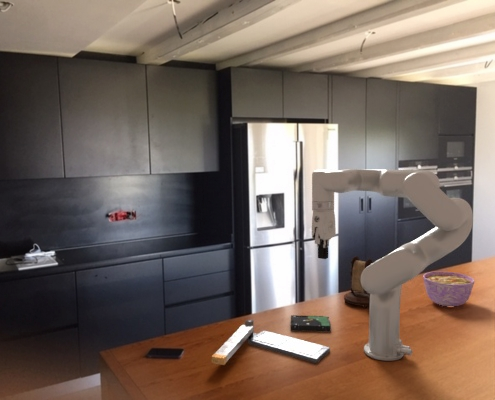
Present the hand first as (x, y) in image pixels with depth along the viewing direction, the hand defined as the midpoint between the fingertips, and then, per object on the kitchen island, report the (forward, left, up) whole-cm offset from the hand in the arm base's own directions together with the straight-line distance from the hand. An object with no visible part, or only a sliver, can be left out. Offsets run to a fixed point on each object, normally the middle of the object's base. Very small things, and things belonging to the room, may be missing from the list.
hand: (322, 258), depth 163 cm
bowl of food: (-29, -60, -29) cm, 73 cm away
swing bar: (+19, +27, -28) cm, 43 cm away
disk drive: (+9, -7, -30) cm, 32 cm away
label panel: (+9, +14, -29) cm, 33 cm away
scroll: (+2, -42, -29) cm, 51 cm away
